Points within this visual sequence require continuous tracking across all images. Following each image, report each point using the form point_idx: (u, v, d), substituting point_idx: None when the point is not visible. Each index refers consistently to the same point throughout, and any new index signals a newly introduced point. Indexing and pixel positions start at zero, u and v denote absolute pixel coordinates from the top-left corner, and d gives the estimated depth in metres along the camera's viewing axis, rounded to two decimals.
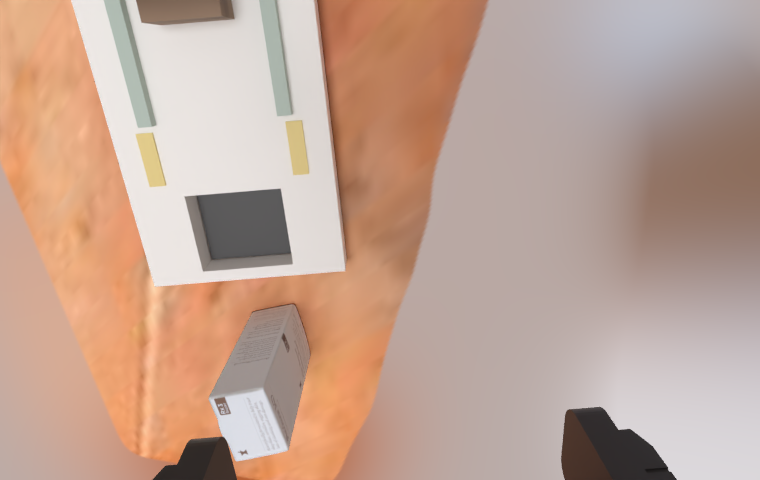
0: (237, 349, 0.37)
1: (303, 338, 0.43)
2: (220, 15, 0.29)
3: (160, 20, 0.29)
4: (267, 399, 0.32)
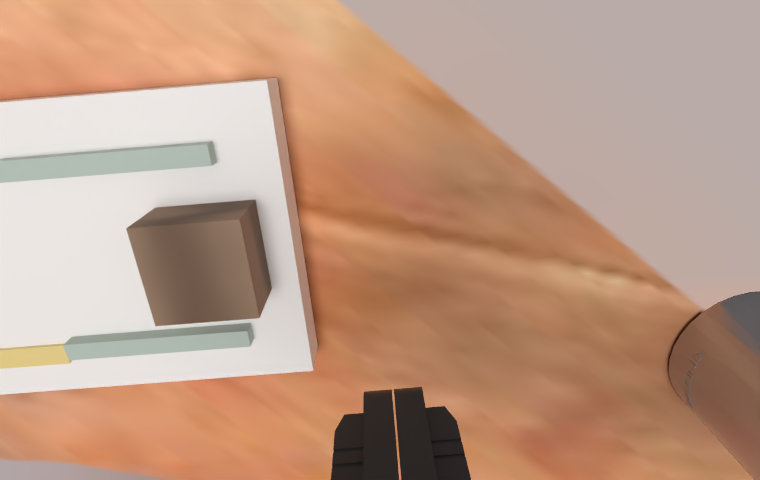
0: None
1: None
2: (156, 323, 0.22)
3: (134, 252, 0.21)
4: None
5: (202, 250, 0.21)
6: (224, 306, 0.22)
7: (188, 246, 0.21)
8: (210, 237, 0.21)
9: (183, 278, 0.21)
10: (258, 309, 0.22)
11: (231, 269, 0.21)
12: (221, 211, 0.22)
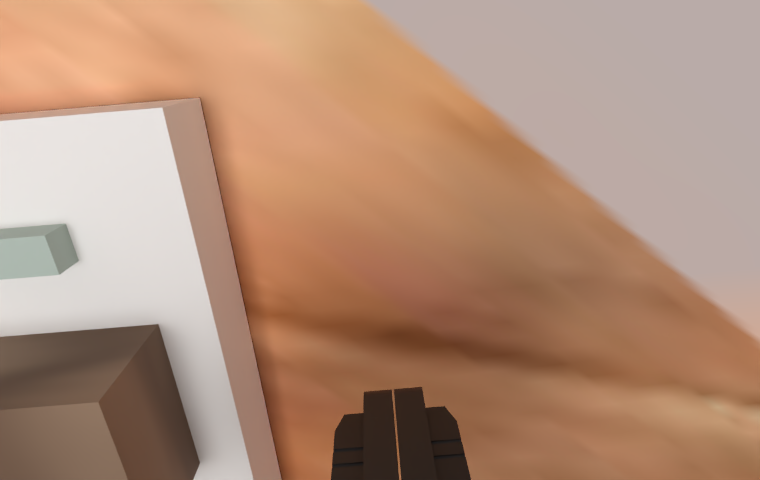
0: None
1: None
2: None
3: None
4: None
5: (30, 457, 0.10)
6: None
7: None
8: (42, 434, 0.10)
9: None
10: None
11: None
12: (79, 364, 0.11)
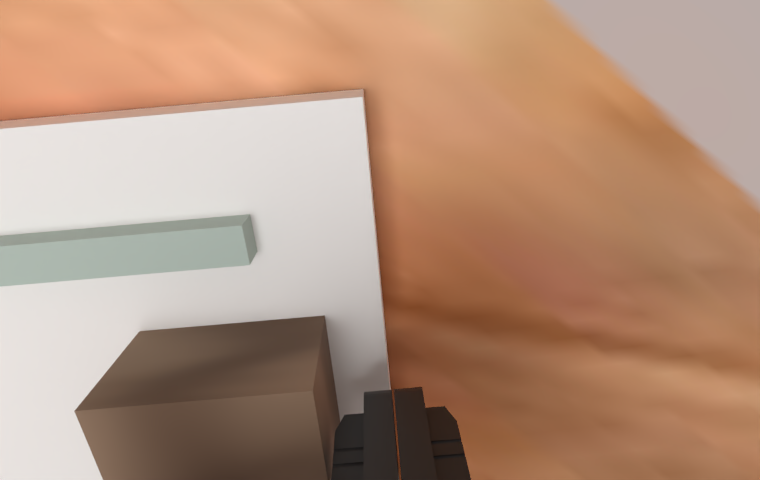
0: None
1: None
2: None
3: (94, 451, 0.10)
4: None
5: (233, 447, 0.10)
6: None
7: (204, 439, 0.10)
8: (251, 423, 0.10)
9: None
10: None
11: (290, 477, 0.11)
12: (267, 355, 0.11)
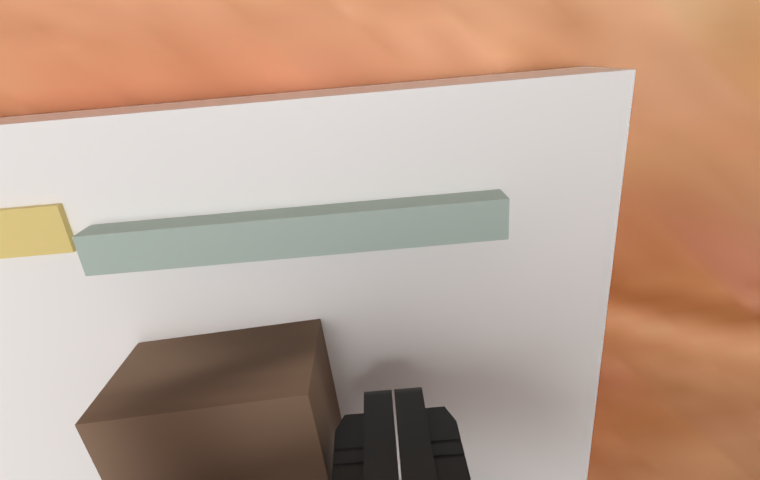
0: None
1: None
2: None
3: (97, 464, 0.10)
4: None
5: (233, 454, 0.10)
6: None
7: (204, 447, 0.10)
8: (249, 429, 0.10)
9: None
10: None
11: None
12: (264, 361, 0.11)
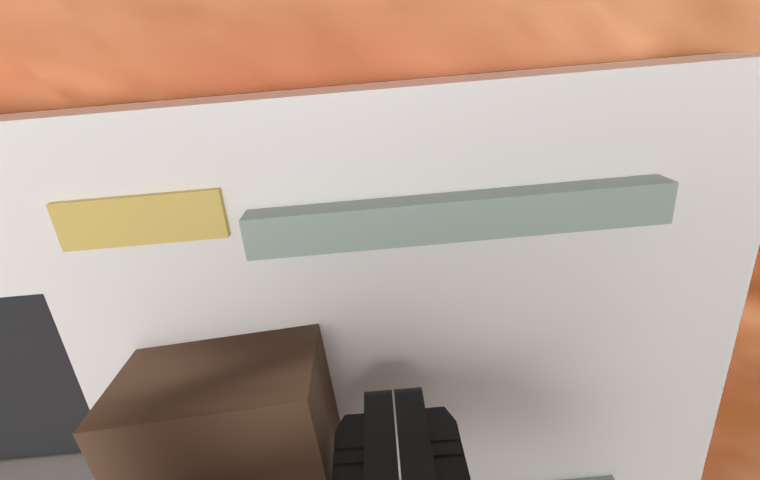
0: None
1: None
2: None
3: (95, 472, 0.10)
4: None
5: (233, 460, 0.10)
6: None
7: (202, 454, 0.10)
8: (248, 436, 0.10)
9: None
10: None
11: None
12: (262, 367, 0.11)
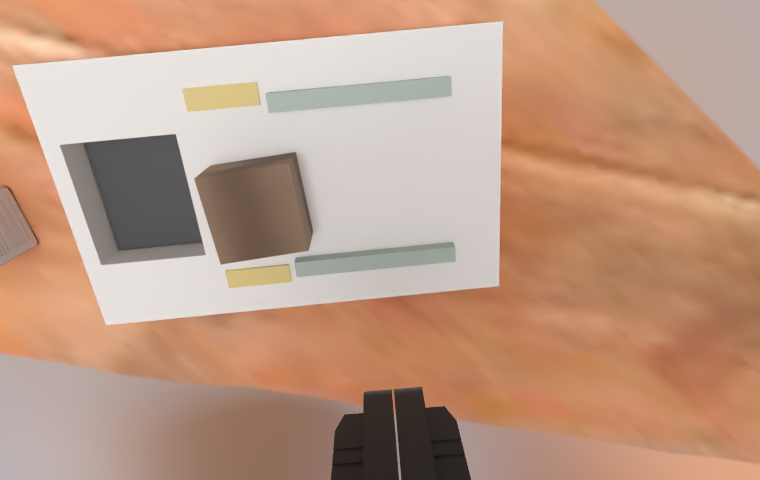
0: None
1: None
2: (221, 262, 0.26)
3: (201, 199, 0.25)
4: None
5: (258, 193, 0.25)
6: (278, 242, 0.26)
7: (246, 190, 0.25)
8: (265, 181, 0.24)
9: (243, 219, 0.25)
10: (307, 243, 0.26)
11: (283, 208, 0.25)
12: (270, 161, 0.25)
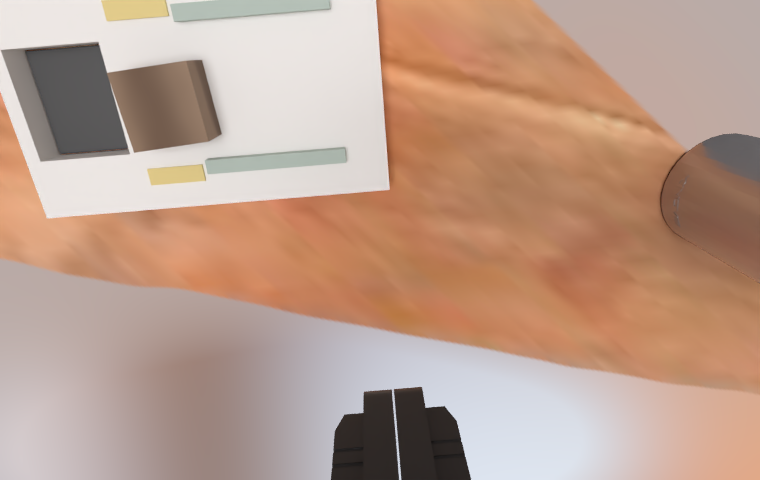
0: None
1: None
2: (134, 151, 0.31)
3: (114, 92, 0.29)
4: None
5: (162, 87, 0.29)
6: (182, 133, 0.30)
7: (151, 84, 0.29)
8: (167, 76, 0.29)
9: (150, 111, 0.30)
10: (207, 135, 0.30)
11: (184, 101, 0.29)
12: None
